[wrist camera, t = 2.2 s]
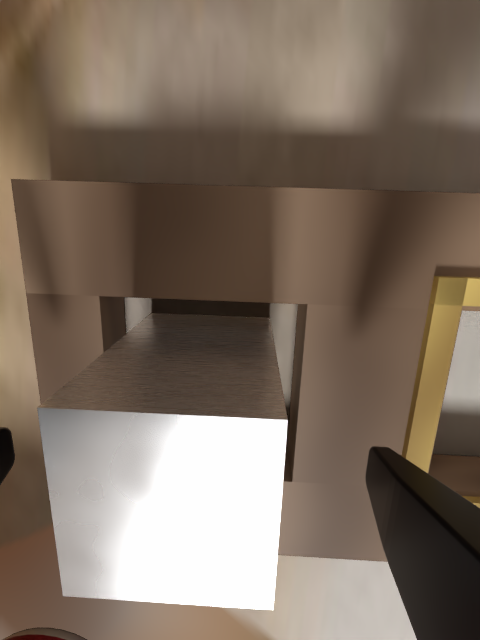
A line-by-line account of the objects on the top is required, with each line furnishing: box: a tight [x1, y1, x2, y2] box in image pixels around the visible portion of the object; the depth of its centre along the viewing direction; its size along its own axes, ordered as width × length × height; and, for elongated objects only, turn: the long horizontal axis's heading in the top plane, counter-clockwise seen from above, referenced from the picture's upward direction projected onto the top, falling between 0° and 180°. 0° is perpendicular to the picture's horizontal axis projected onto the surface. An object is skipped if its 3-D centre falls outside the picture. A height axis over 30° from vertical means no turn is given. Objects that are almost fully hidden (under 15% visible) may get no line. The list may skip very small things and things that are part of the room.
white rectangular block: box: [37, 313, 288, 610], centre depth 10 cm, size 4×4×7 cm
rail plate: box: [11, 179, 480, 562], centre depth 12 cm, size 22×13×2 cm, turn 88°
